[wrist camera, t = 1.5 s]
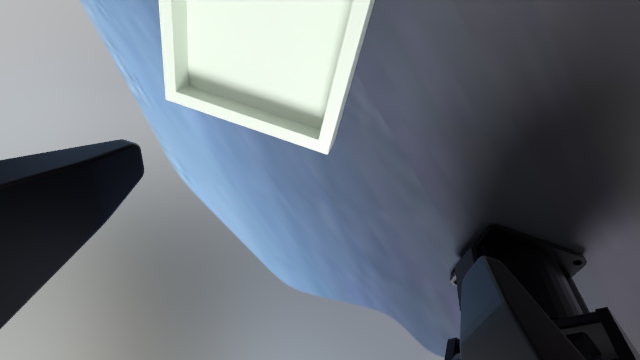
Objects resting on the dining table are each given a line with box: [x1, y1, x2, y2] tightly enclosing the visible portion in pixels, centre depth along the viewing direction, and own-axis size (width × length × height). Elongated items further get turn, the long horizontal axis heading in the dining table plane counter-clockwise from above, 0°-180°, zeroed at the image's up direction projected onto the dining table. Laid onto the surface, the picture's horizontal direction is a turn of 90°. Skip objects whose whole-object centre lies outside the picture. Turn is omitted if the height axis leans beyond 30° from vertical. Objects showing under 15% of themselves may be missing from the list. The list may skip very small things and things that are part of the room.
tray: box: [159, 0, 375, 155], centre depth 18 cm, size 12×12×2 cm
